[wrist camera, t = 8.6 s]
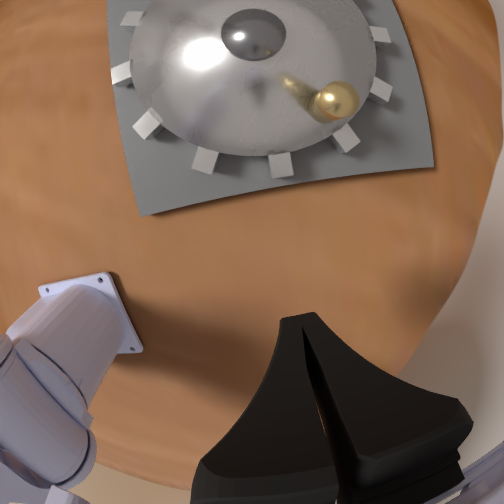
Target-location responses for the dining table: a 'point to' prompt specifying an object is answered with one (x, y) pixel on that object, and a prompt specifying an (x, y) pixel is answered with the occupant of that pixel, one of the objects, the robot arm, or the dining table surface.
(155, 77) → the sprocket
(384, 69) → the timing board
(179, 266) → the dining table surface
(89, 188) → the dining table surface
